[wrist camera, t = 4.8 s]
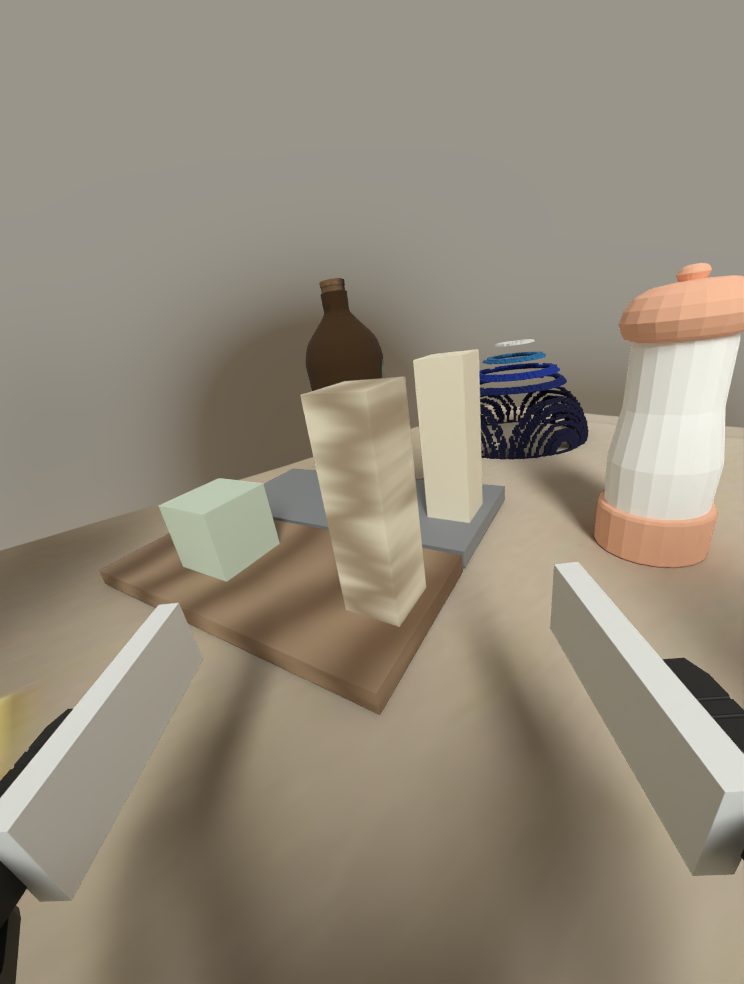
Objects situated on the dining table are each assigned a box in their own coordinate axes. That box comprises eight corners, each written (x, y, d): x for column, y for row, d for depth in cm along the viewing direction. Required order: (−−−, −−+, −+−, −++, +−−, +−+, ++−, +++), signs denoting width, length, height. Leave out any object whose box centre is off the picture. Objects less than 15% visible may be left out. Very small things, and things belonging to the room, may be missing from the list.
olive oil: (338, 483, 51) (299, 276, 41) (319, 464, 60) (283, 291, 50) (407, 464, 54) (386, 268, 44) (379, 449, 63) (356, 283, 53)
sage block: (183, 566, 33) (158, 505, 30) (236, 533, 37) (219, 478, 35) (226, 581, 29) (202, 514, 27) (279, 543, 34) (263, 483, 32)
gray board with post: (223, 518, 45) (179, 387, 39) (295, 478, 55) (269, 369, 49) (464, 567, 29) (454, 362, 23) (504, 499, 39) (504, 342, 33)
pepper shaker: (723, 574, 25) (817, 240, 17) (598, 561, 28) (632, 272, 21) (691, 522, 31) (750, 256, 23) (590, 516, 34) (614, 280, 26)
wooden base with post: (105, 583, 35) (21, 420, 29) (219, 519, 45) (175, 388, 38) (379, 714, 19) (321, 414, 13) (462, 571, 29) (451, 363, 23)
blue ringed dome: (503, 471, 47) (503, 351, 41) (426, 440, 65) (419, 353, 59) (619, 437, 53) (632, 327, 47) (519, 417, 70) (521, 335, 65)
